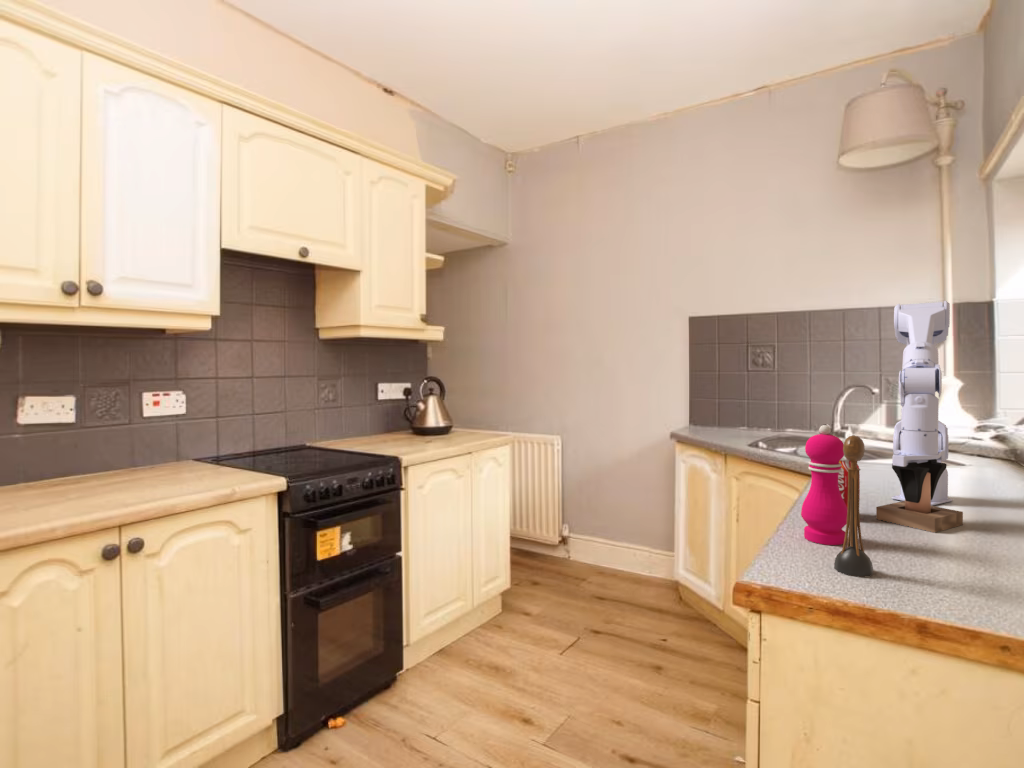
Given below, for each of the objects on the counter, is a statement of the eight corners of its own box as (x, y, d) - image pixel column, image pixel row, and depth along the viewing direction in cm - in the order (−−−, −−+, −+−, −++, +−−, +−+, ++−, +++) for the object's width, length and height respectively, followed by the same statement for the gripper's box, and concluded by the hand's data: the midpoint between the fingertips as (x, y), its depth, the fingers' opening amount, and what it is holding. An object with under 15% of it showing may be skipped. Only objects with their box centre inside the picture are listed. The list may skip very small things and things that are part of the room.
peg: (912, 510, 108) (912, 470, 108) (935, 514, 105) (935, 473, 104) (900, 512, 106) (899, 471, 106) (923, 517, 103) (922, 474, 103)
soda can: (867, 521, 107) (867, 459, 106) (830, 521, 107) (831, 460, 106) (846, 511, 114) (846, 454, 113) (811, 511, 114) (811, 454, 113)
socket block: (904, 512, 112) (904, 500, 112) (962, 524, 103) (962, 511, 103) (876, 519, 108) (876, 506, 108) (934, 532, 99) (934, 518, 99)
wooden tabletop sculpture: (842, 561, 85) (843, 432, 84) (877, 568, 81) (878, 434, 81) (830, 571, 80) (831, 435, 80) (867, 579, 77) (868, 438, 77)
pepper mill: (856, 547, 91) (856, 427, 90) (808, 545, 92) (809, 427, 92) (839, 534, 98) (839, 423, 98) (795, 532, 99) (795, 423, 99)
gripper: (916, 426, 112) (916, 492, 112) (875, 430, 105) (875, 500, 106) (957, 429, 106) (956, 499, 106) (916, 433, 99) (915, 508, 99)
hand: (918, 500), depth 105 cm, fingers closed on peg, 4 cm apart
